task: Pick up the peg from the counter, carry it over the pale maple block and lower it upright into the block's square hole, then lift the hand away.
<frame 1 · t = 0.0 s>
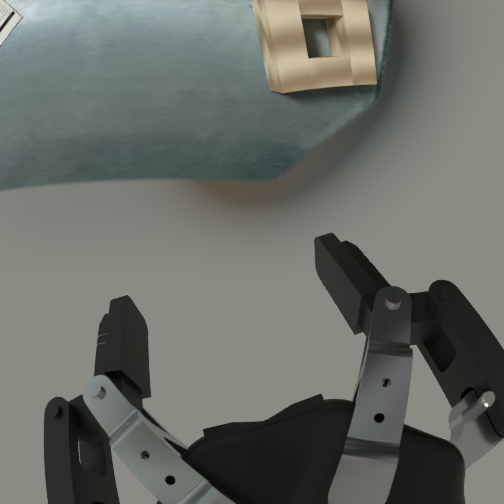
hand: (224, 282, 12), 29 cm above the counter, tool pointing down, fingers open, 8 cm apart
socket block: (309, 38, 30), on the counter
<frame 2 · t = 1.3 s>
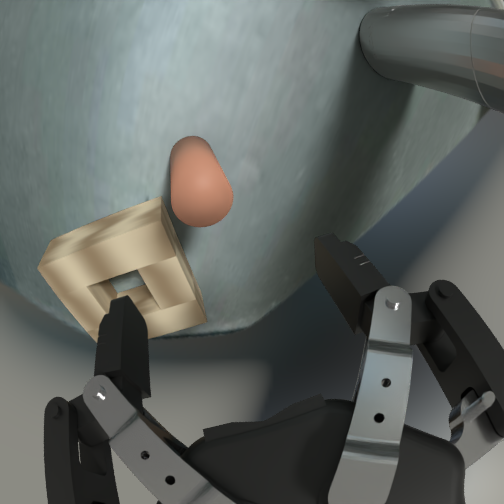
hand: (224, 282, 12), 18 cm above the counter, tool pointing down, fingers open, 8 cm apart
peg: (191, 156, 26), on the counter
socket block: (127, 268, 31), on the counter
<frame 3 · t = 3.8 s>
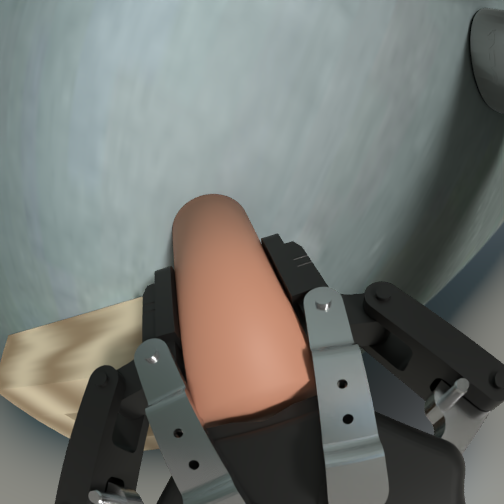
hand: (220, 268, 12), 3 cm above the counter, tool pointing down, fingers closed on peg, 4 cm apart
peg: (210, 229, 15), on the counter, touching gripper
socket block: (118, 371, 20), on the counter
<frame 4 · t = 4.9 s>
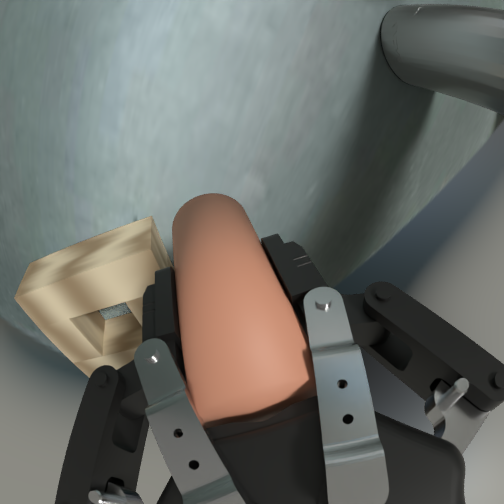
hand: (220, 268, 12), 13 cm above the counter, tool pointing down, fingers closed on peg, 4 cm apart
peg: (210, 228, 15), point 9 cm above the counter, touching gripper
socket block: (115, 294, 27), on the counter
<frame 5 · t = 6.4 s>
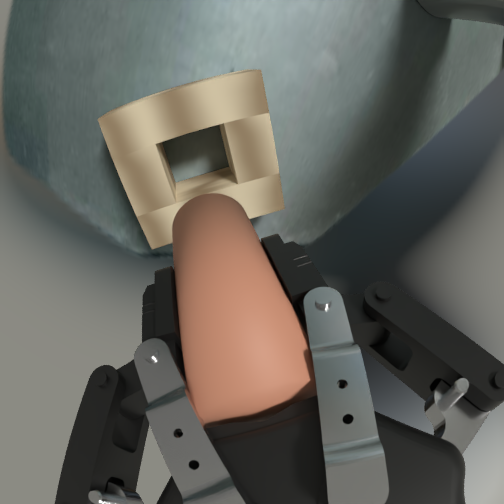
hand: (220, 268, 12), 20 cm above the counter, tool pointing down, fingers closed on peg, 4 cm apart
peg: (210, 228, 15), point 16 cm above the counter, touching gripper
socket block: (194, 149, 28), on the counter
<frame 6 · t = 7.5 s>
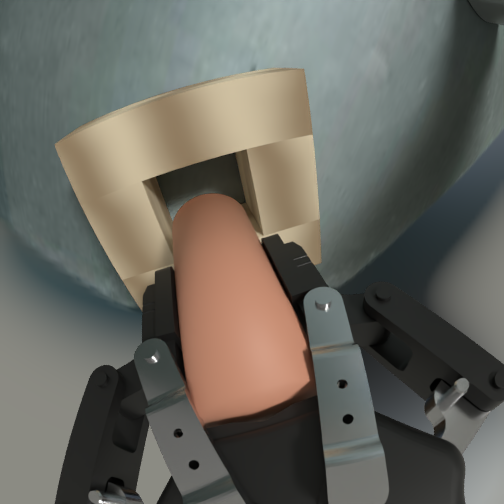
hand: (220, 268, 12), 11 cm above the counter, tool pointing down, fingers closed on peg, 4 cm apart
peg: (210, 228, 15), point 7 cm above the counter, touching gripper
socket block: (199, 179, 21), on the counter
when the fingers open (6 cm above the counter, at t = 9.3 s): peg drops 2 cm, resting in socket block.
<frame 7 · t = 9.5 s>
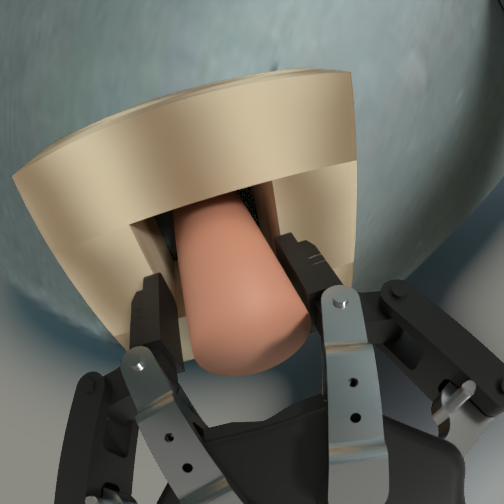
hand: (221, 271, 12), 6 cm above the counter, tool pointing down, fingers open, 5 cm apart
peg: (206, 206, 17), resting in socket block
socket block: (204, 208, 17), on the counter
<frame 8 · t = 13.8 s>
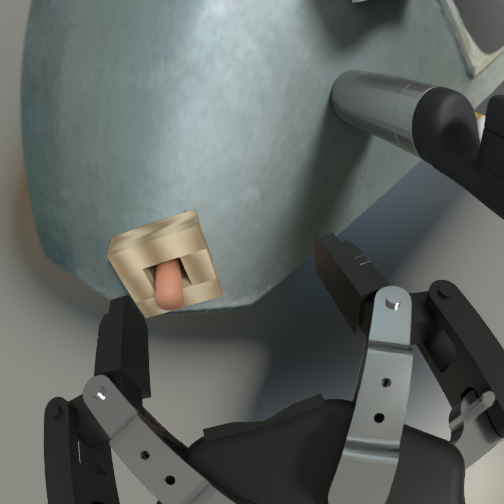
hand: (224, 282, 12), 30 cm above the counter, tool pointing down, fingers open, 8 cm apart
peg: (167, 257, 46), resting in socket block
supplement bottle: (450, 118, 43), on the counter
socket block: (167, 258, 46), on the counter
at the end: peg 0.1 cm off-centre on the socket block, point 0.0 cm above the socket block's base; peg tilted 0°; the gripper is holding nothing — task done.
